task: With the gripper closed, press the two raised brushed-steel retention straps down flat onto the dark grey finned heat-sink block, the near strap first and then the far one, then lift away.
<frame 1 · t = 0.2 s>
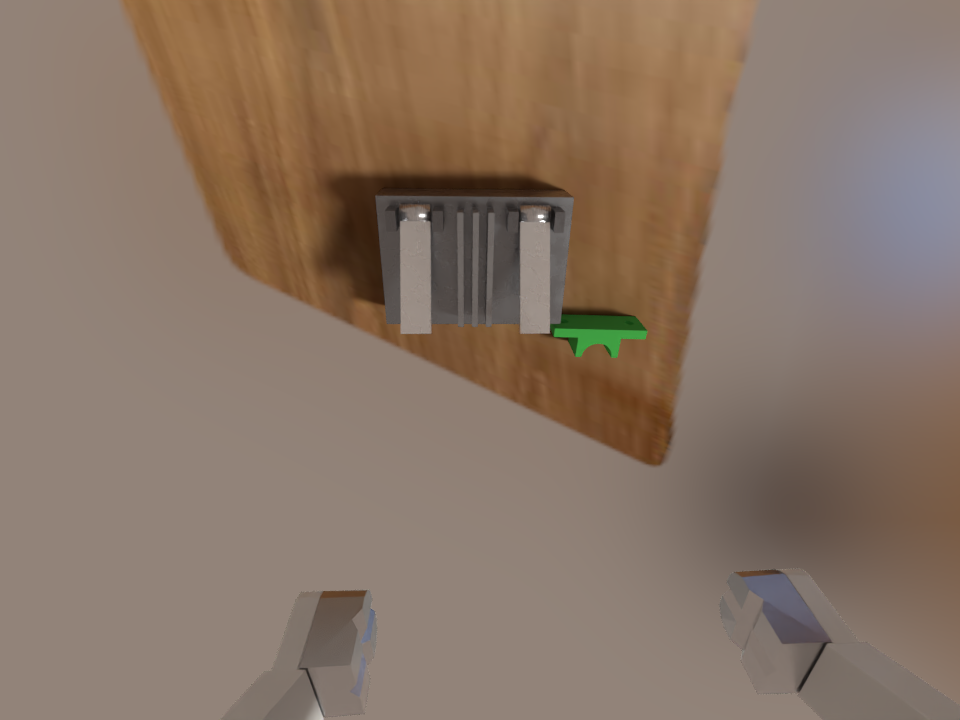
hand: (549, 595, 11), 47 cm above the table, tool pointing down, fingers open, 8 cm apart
pipe clamp: (588, 326, 60), on the table
heatsink block: (473, 251, 54), on the table
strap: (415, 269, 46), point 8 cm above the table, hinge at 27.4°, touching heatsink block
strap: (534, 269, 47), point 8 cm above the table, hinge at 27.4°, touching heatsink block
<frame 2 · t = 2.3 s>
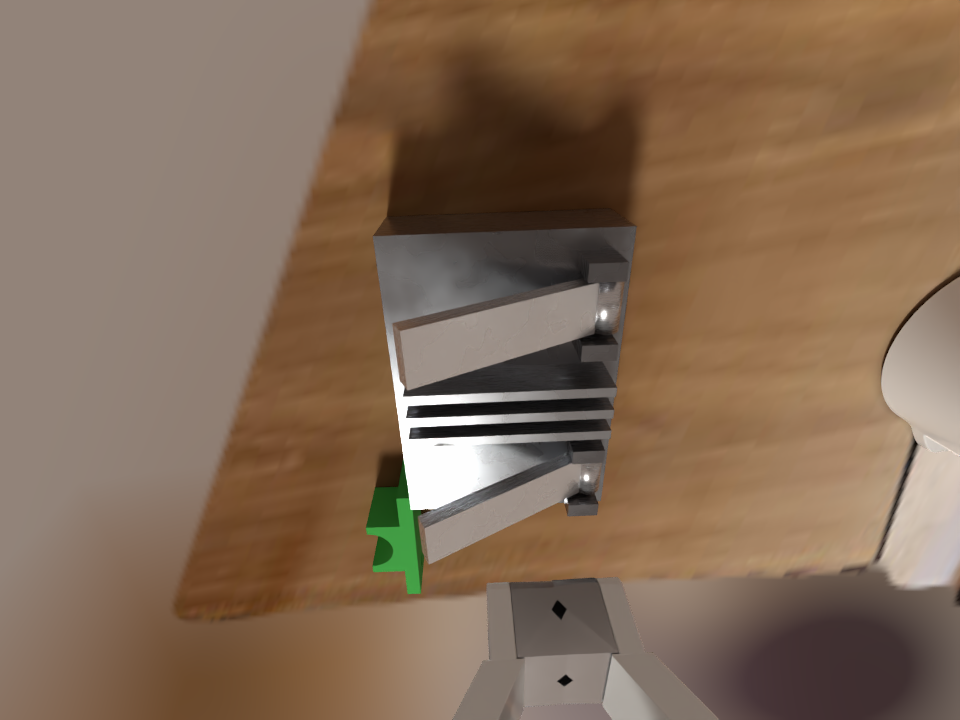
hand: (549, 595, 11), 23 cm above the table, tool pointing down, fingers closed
pipe clamp: (401, 505, 41), on the table
heatsink block: (500, 353, 34), on the table
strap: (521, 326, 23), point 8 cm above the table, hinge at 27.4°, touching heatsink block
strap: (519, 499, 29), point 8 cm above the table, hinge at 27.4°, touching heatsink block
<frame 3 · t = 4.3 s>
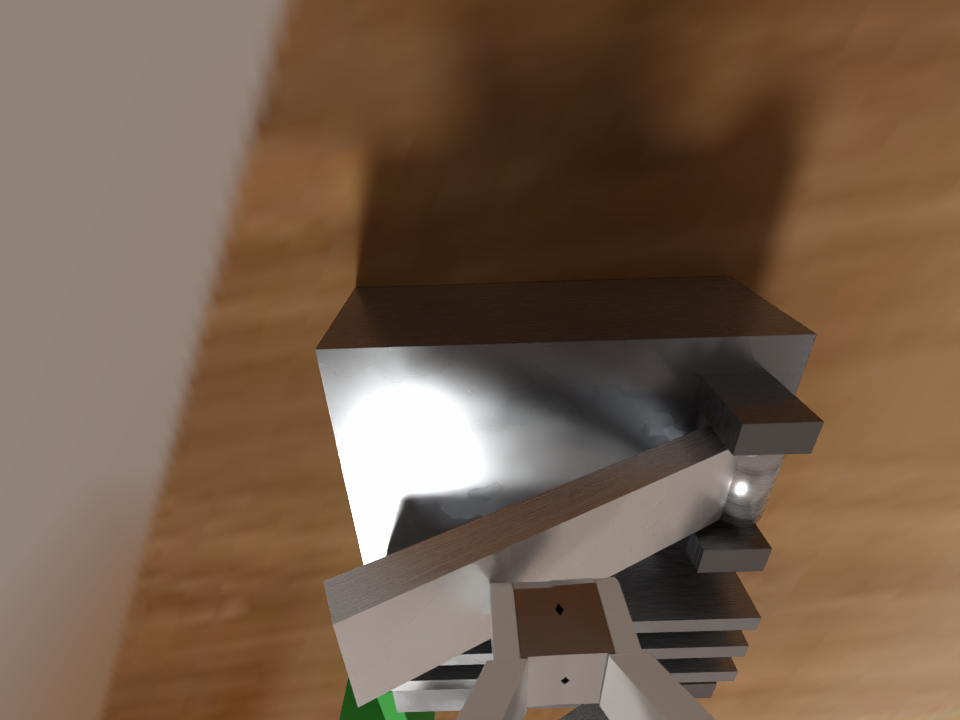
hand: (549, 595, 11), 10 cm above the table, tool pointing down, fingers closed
pipe clamp: (396, 657, 30), on the table
heatsink block: (534, 481, 22), on the table
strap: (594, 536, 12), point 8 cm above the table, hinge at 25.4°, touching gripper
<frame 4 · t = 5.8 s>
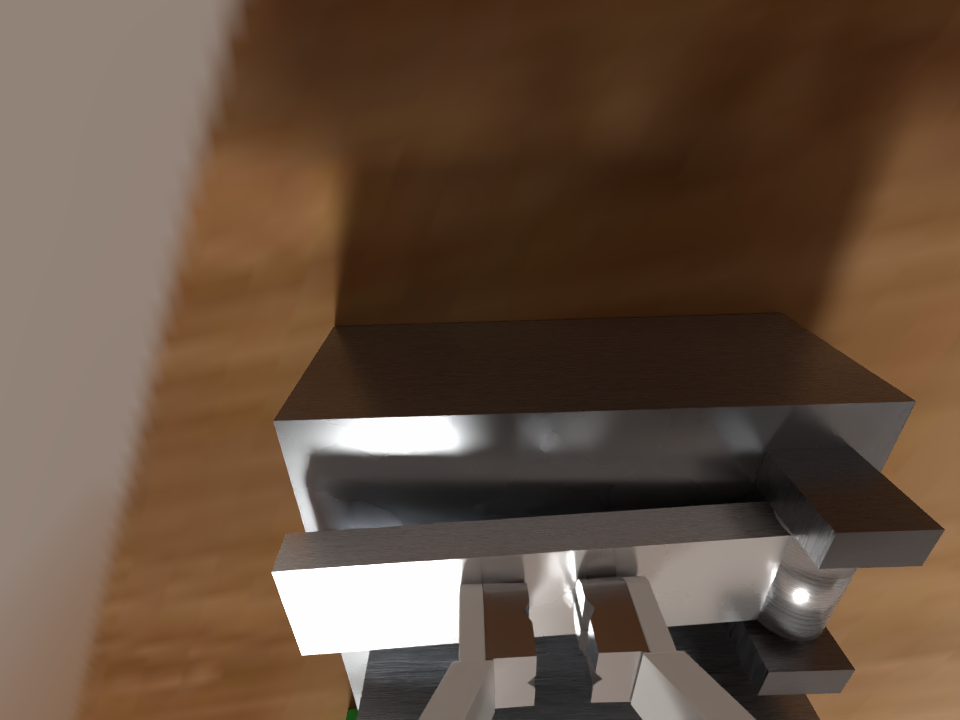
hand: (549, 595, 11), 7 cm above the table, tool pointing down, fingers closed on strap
heatsink block: (544, 541, 19), on the table
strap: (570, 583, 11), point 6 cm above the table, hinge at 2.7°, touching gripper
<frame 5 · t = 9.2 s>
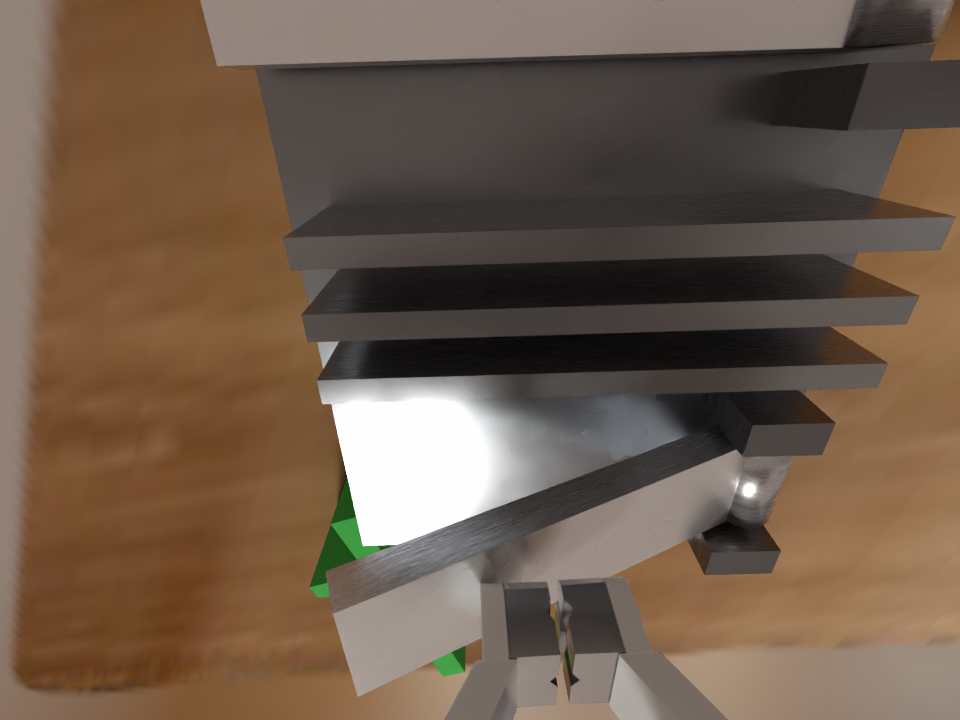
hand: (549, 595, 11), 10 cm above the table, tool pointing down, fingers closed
pipe clamp: (396, 524, 24), on the table
heatsink block: (549, 225, 16), on the table
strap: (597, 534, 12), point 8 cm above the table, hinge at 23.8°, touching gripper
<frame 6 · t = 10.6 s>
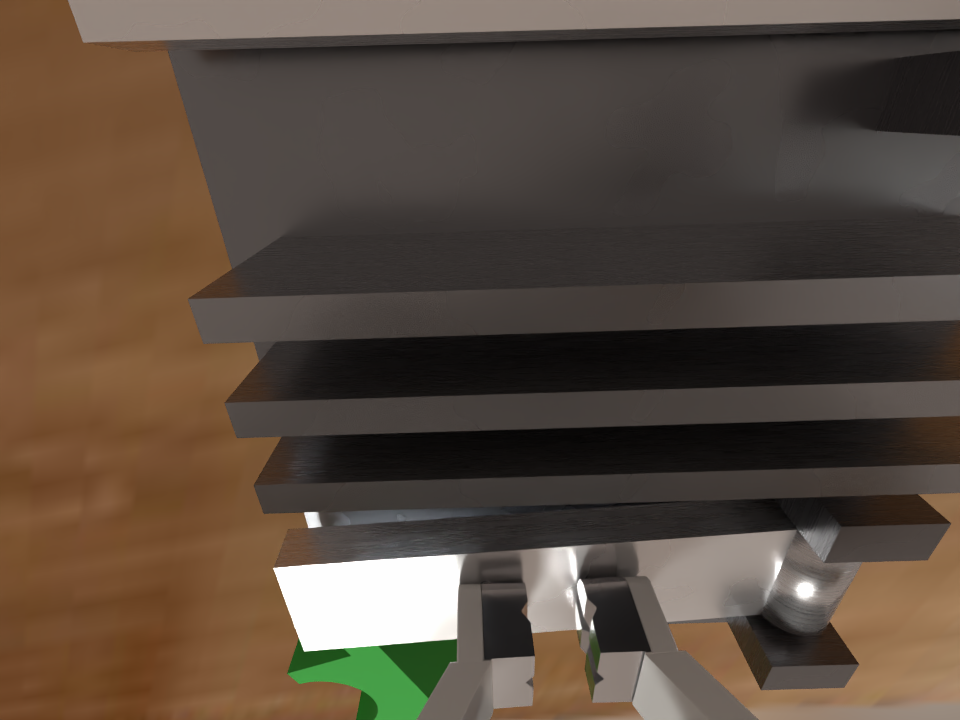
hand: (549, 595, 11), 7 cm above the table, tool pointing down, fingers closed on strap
pipe clamp: (392, 580, 21), on the table
heatsink block: (563, 250, 13), on the table
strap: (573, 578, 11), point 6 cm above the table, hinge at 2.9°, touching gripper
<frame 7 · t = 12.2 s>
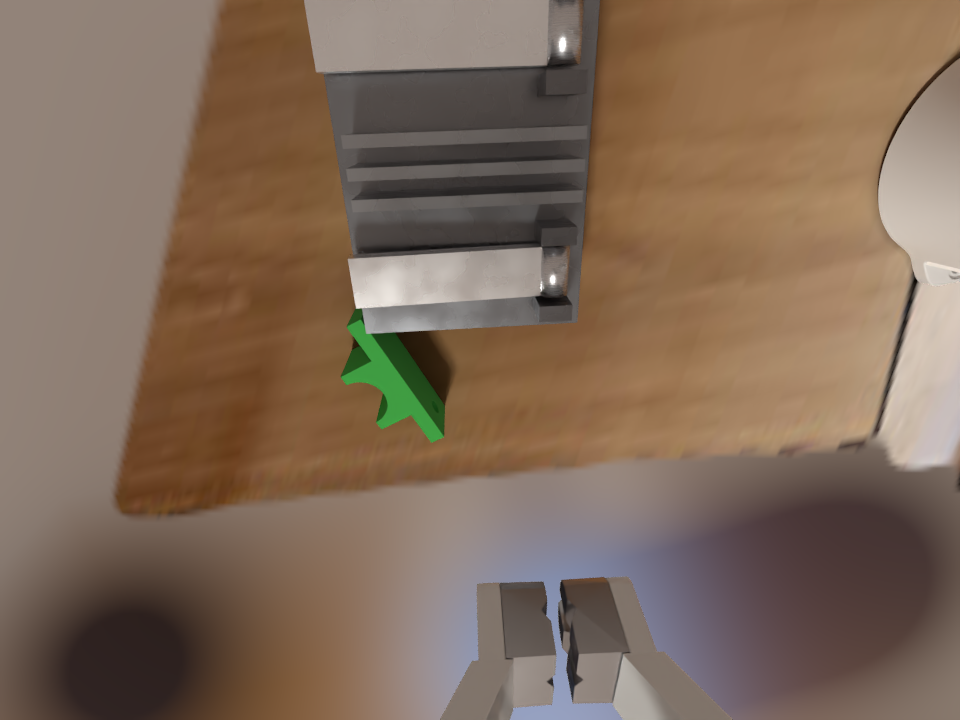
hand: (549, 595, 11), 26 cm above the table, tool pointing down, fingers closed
pipe clamp: (391, 361, 37), on the table
heatsink block: (462, 157, 30), on the table
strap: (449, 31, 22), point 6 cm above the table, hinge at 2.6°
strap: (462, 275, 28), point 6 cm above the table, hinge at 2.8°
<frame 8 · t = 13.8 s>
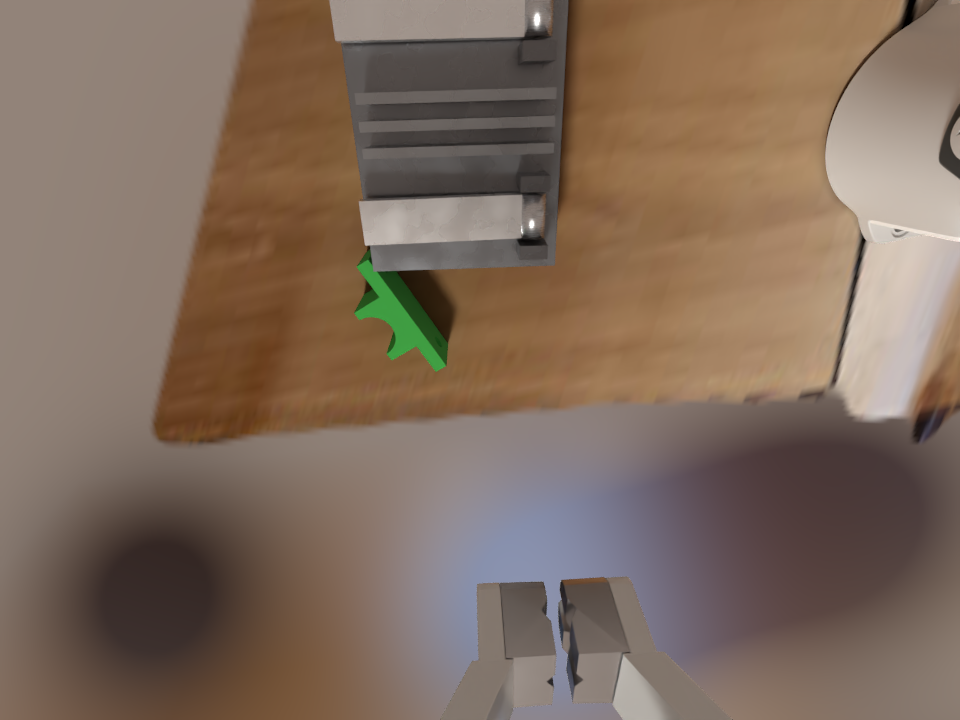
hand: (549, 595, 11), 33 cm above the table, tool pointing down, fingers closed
pipe clamp: (398, 304, 43), on the table
heatsink block: (458, 121, 35), on the table
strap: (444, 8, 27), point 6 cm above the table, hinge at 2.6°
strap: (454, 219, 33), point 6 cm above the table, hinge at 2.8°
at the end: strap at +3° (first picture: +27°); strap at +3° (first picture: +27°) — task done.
